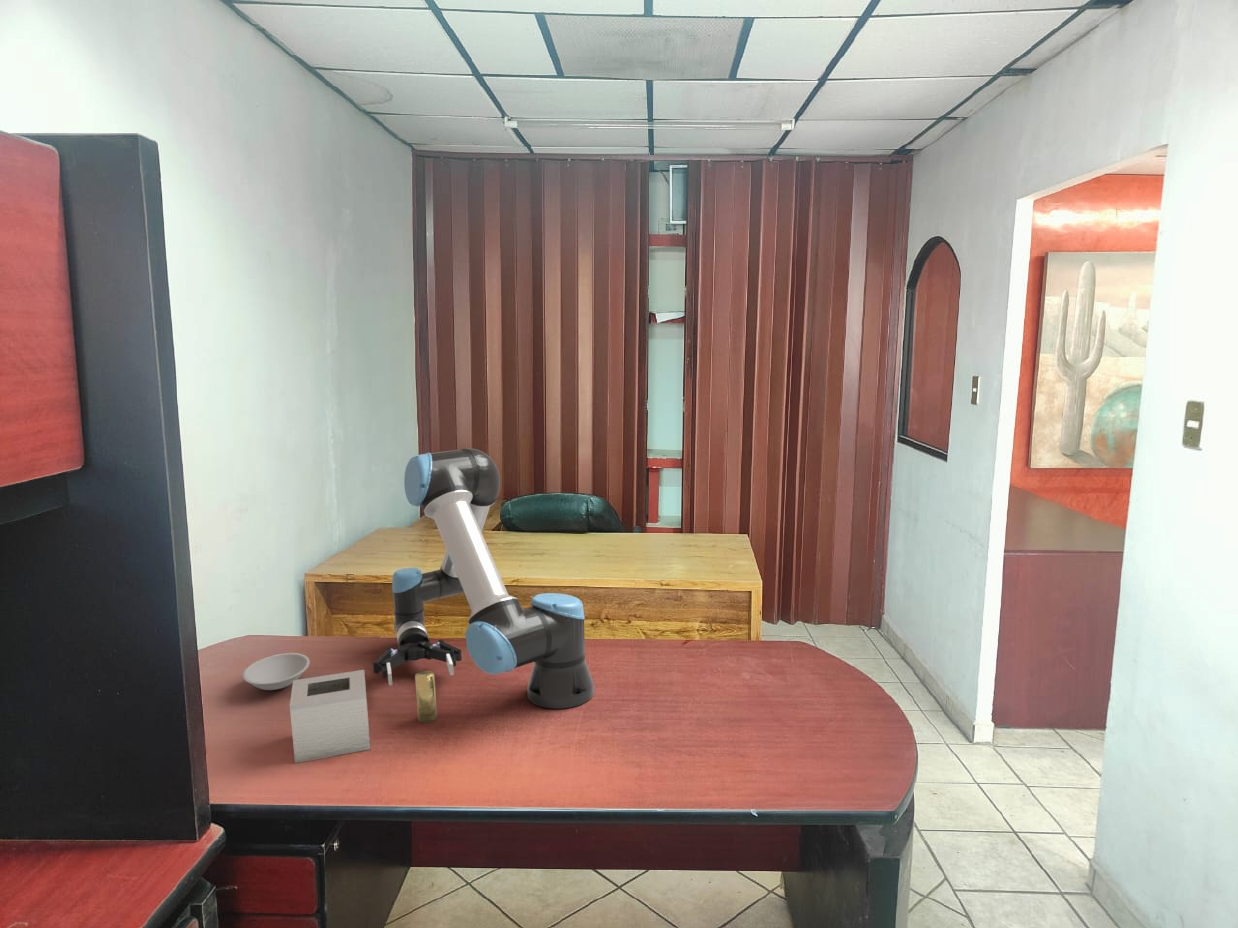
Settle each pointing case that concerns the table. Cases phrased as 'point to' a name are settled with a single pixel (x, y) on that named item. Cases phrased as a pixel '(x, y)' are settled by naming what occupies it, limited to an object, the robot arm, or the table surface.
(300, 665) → the dish
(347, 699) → the grey tissue box
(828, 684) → the table surface
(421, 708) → the coin roll
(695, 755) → the table surface
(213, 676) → the table surface
